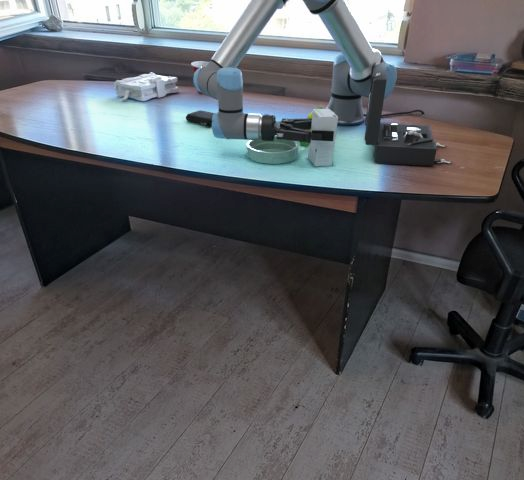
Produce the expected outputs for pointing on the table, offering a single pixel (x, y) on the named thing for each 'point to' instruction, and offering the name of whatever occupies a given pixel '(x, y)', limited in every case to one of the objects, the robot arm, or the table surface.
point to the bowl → (272, 151)
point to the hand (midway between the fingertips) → (334, 131)
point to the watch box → (395, 131)
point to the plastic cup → (198, 66)
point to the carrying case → (200, 118)
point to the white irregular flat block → (145, 86)
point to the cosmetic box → (322, 150)
